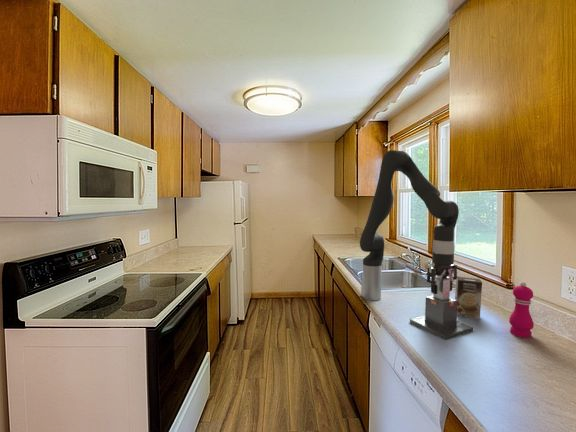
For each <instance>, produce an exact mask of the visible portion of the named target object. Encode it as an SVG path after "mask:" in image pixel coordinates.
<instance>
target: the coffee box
mask: <svg viewBox="0 0 576 432" xmlns="http://www.w3.org/2000/svg"><path fill="white" fill-rule="evenodd" d="M482 288H483V282H482V280H481V279H480V278H473V277H466V276H458V275H457V279H456V280H455V296H454V299H455V300H458V305H457V317H464V318H469V319H476V320H480V319H481V310H482V309H481V307H482V292H483V291H482V290H483V289H482Z"/></svg>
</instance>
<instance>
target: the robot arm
mask: <svg viewBox="0 0 576 432" xmlns="http://www.w3.org/2000/svg"><path fill="white" fill-rule="evenodd" d="M380 164H381V165H380V171H379V176H378V181H377V185H376V189H375V193H374V196H373V198H372V202H371V207H370V211H369V214H368V217H367V220H366V223H365V226H364V228H363V231H362V233H361V235H360V239H359V248H360V249H361V250H362V251H363V252H366V253H369V254H367V256H365V257H363V259H362V277H361V278H360V281H361V282H360V284H361V285H360V289H361V291H360V295H361V297H362V298H363V299H366V300H368V301H379V300H381V298H382V268H383V267H382V263H383V261H384V257H385V256H384V253H385V240H384V236H383V235H382V234H381V233H379V232H377V230H378V229H379V227H380V226H381V224H383V222H384V221H385V220H386V219H387V218H388V216H389V215H390V213H391V211H392V209H393V205H394V202H395V201H394V200H395V197H394V191H393V186H392V184H393V183H392V182H393V180H394V179H393V177H394V175H395V172H401V173H402V174H403V175H405V176H406V178H408V180H409V182H410V185H411V188H412V190H413V191H414V193H415V194H416V195H417V196H418V197H419V199H421V200H422V201H423V203H424V204H425V206H426V208H427V211H428V212H429V213H430V215H432V216H433V217H434V218H435V219H438V220H439V223H438V224H437V225H435V226H434V229H433V242H432V252H431V253H432V254H431V255H432V256H431V258H432V259H431V262H432V264H434V266H433V267H430V266H428V267H427V272H426V283H429V284H430V292H431V294H433V295H434V294H437V291H438V285H437V284H438V282H439V280H441V279H442V278H444V277H450V278H451V279H450V292H452V291H453V284H454V281H456V279H457V276H458V265H456V264H454V263H455V242H454V241H455V228H456V225H457V221H458V219H459V213H460V210H459V206H458V204H457V203H456V202H455V201H453V200H443V199H442V198H441V197H440V196H441V191H439V189H438V188H437V187H436V186H435V185H434V183H432V182H431V181H429V179H428V178H427V177H426V176H425V174H424V173H423V172H422V171H421V170H420V168H419V167H418V166H417V165H416V163H415V161H414V160H413V159H412V158H411V156H410V154H409V153H408V152H407V151H405V150H404V151H403V150H395V149H392V150H387V151H386V152H385V153H384V154H383V157H382V160H381V163H380ZM435 279H436V281H435Z"/></svg>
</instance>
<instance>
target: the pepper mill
mask: <svg viewBox="0 0 576 432" xmlns="http://www.w3.org/2000/svg"><path fill="white" fill-rule="evenodd" d="M519 284H520V285H516V286H515V287H513V289H512V295H513V296H514V297H513V302H514V309H513V311H512V313H511V314H510V316H509V319H508V322H509V325H511V326H510V328H509V329H510V331H509V332H510V334H512V335H514V336H516V337H519V338H525V339H530V338H532V331H531V330H532V329H534V327H535V325H534V320H533V318H532V316H531V313H530V312H531V311H530V306H531V305H532V303H531V302H532V300H531V299H533V297H534V292H533V289H531V288H530V287H528V286H527V283H526V282H524V281H522V282H520V283H519Z"/></svg>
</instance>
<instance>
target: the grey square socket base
mask: <svg viewBox="0 0 576 432" xmlns="http://www.w3.org/2000/svg"><path fill="white" fill-rule="evenodd" d="M424 305H425V307H424V315H421V316H416V317H413V318H409V323H410V324H412V325H414V326H416V327H419V329H422V330H423V331H427V332H428V333H430V334H433V335H434V336H437V337H439V338H440V339H443V340H445V341H446V340H449V339H453V338H456V337H458V336H462V335H466V334H468V333H471V332H472V333H473V332H474V327H473V326H471V325H468V324H465V323H464V322H461V321H459V320H458V316H457V305H458V300H455V298H452V297H450V299H449V300H448V301H440V300H437V299H434V294H433V295H428V296H425V304H424Z"/></svg>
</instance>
